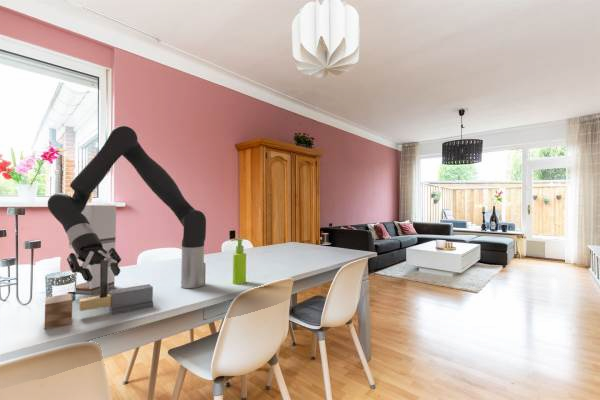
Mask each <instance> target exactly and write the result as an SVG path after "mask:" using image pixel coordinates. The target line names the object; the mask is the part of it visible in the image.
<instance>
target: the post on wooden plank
mask: <svg viewBox="0 0 600 400" xmlns="http://www.w3.org/2000/svg"><path fill="white" fill-rule="evenodd" d="M107 280H108V260H102V261H100V291H99V295H96V296H95V295H94V296H90V297H84V298H83V297H82V298H79V312H83V311H89V310H90V311H91V310H93V309H94V310H95V309H98V308H99V309H102V308H105V307H109V306H111V301H112V295H111V294H110V293H108V289H107Z"/></svg>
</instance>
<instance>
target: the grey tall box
mask: <svg viewBox="0 0 600 400" xmlns="http://www.w3.org/2000/svg"><path fill="white" fill-rule="evenodd" d="M81 213H82V214H83V215H84V216H85V217H86V218H87V220H88V222H89V223H90V225H91V227H92V228H93V229H94V231H95V232H96V234H97V236H98V238H99V239H100V241H101V243H102V246H103V249H104V250H110V249H111V248H114V249H115V250H116V237H117V236H116V235H117V234H116V233H117V231H116V229H117V228H116V226H117V205H111V204H110V205H107V204H106V205H100V204H99V205H95V204H92V205H91V204H89V205H87V204H86V206H85V208H84V210H83V211H82V212H81ZM68 241H69V240H68ZM68 247H69V249H73V247H72V245H71V243H70V241H69V242H68ZM104 260H107V259H106V258H105V259H104ZM109 262H110V261H109ZM110 263H111V262H110ZM82 264H83V261H81V260H79V266H82ZM87 268H88V269H89V271H90V273H91V275H92V277H93V278H92V280H91V281H90V282H87V281H85V282H83V283H79V284H76V293H75V294H80V295H81V294H82V295H93V294H96V293H98V292H99V293H100V264H94V265H89V264H88V266H87ZM115 277H116V276H115V275H114V274H113V272H112V270H111V267H109V266H108V280H107V290H108V289H110V288H113V287H115Z"/></svg>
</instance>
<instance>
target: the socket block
mask: <svg viewBox="0 0 600 400" xmlns="http://www.w3.org/2000/svg"><path fill="white" fill-rule="evenodd" d="M44 301H45V302H44V325H43V326H44V329H43V330H47V329H48V330H49V329H53V328H58V327H62V326H63V327H64V326H67V325H68V326H69V325H72V324H73V296H72V293H66V294H59V295H53V296H46V297H45V300H44Z"/></svg>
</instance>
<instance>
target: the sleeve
mask: <svg viewBox="0 0 600 400" xmlns="http://www.w3.org/2000/svg"><path fill="white" fill-rule="evenodd" d="M153 289H154V288H153V286H152V285H151V284H150V283H147V284H141V285H135V286H130V287H129V286H128V287H121V288H115V289H110V290H109V294H111V295H112V301H111V306H108V310H109V312H110V314H111V316H115V315H118V314H125V313H128V312H134V311H140V310H144V309H148V308H149V309H150V308H153V307H154V302H153V299H154V298H153V296H154V295H153V294H154V293H153V292H154V290H153Z"/></svg>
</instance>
